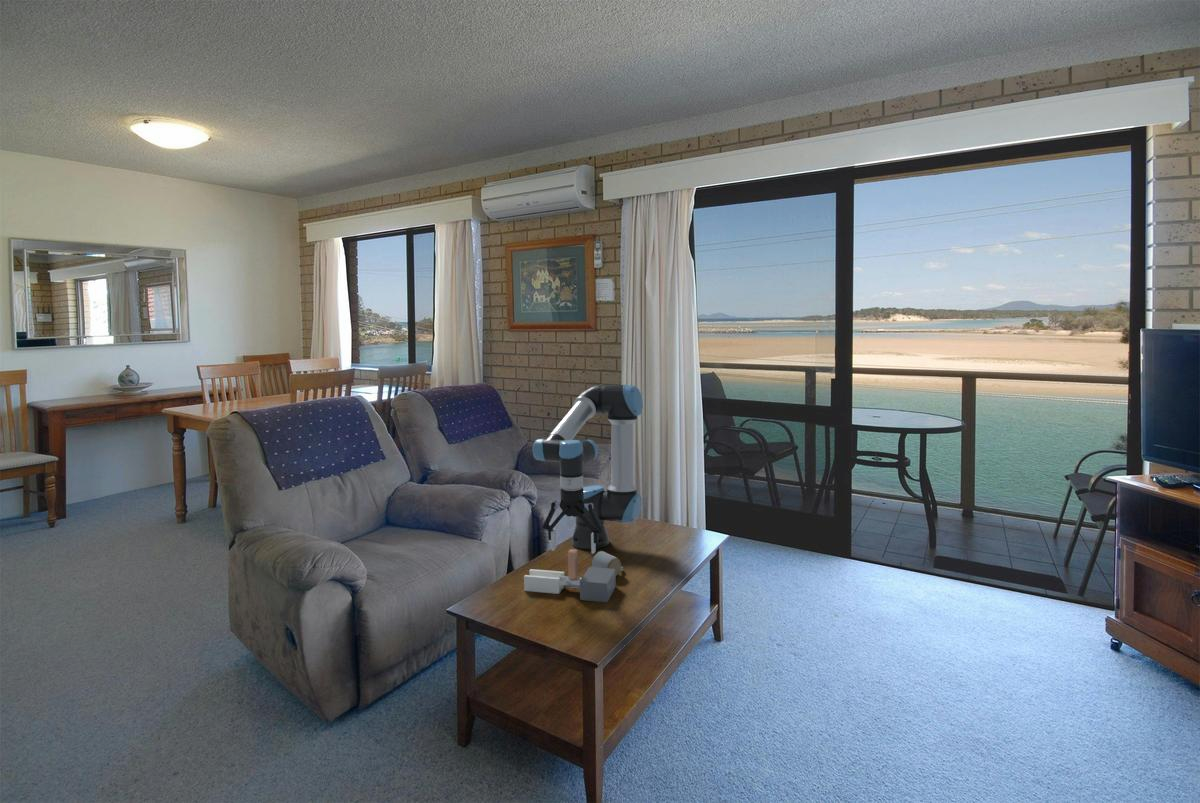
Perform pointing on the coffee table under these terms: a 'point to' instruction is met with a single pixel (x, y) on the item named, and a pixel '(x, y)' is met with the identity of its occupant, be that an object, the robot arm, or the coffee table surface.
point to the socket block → (597, 584)
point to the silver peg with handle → (571, 571)
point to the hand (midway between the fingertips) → (573, 551)
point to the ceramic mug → (607, 562)
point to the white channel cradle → (543, 581)
